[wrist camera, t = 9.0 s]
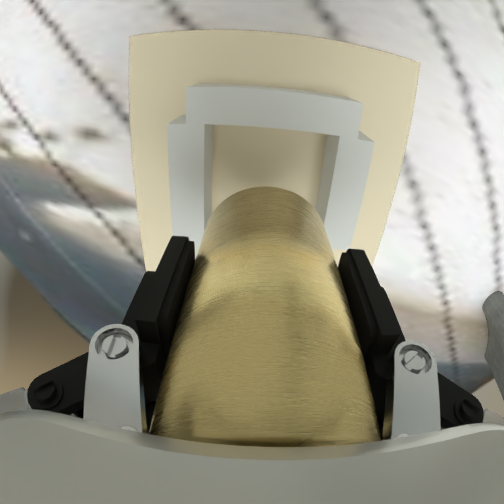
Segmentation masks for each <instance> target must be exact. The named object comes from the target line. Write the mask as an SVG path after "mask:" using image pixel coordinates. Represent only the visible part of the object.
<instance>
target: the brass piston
mask: <svg viewBox="0 0 504 504" xmlns="http://www.w3.org/2000/svg"><path fill="white" fill-rule="evenodd" d="M149 434H150V435H156V436H161V437H167V438H173V439H180V440H187V441H194V442H203V443H212V444H223V445H236V446H253V447H317V446H334V445H347V444H358V443H367V442H375V441H382V440H381V435H380V430H379V425H378V420H377V415H376V410H375V406H374V401H373V396H372V392H371V388H370V383H369V379H368V375H367V371H366V366H365V362H364V358H363V354H362V351H361V347H360V343H359V339H358V335H357V332H356V328H355V324H354V321H353V317H352V314H351V310H350V307H349V303H348V300H347V296H346V293H345V290H344V286H343V283H342V280H341V276H340V273H339V270H338V267H337V264H336V260H335V257H334V254H333V251H332V248H331V245H330V242H329V239H328V236H327V233H326V230H325V227H324V224H323V222H322V219H321V217H320V215H319V214H318V212H317V211H316V209H315V208H314V207H313V206H312V205H311V204H310V203H309V202H308V201H307V200H305V199H304V198H303V197H301V196H299V195H298V194H296V193H294V192H291V191H289V190H286V189H282V188H278V187H269V186H261V187H253V188H248V189H244V190H242V191H239V192H237V193H235V194H233V195H231V196H229V197H228V198H226V199H225V200H224V201H222V202H221V203H220V204H219V205H218V206H217V207H216V209H215V210H214V211H213V213H212V214H211V216H210V218H209V220H208V223H207V225H206V228H205V231H204V235H203V238H202V241H201V244H200V247H199V250H198V253H197V257H196V260H195V263H194V266H193V270H192V273H191V276H190V279H189V283H188V286H187V289H186V293H185V296H184V300H183V303H182V307H181V310H180V313H179V317H178V321H177V324H176V328H175V331H174V335H173V339H172V342H171V346H170V350H169V353H168V357H167V361H166V365H165V369H164V372H163V376H162V380H161V384H160V388H159V392H158V396H157V400H156V405H155V409H154V413H153V417H152V422H151V426H150V430H149Z"/></svg>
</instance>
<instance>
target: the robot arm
mask: <svg viewBox="0 0 504 504" xmlns="http://www.w3.org/2000/svg"><path fill="white" fill-rule="evenodd" d="M194 263H195V244H194V241H189V237H187V236H172V237H171V239H170V241H169V243H168V245H167V247H166V249H165V251H164V254H163V256H162V258H161V260H160V262H159V265H158V267H157V269H156V271H147V272H146V273H145V274H144V276H143V279H142V281H141V283H140V285H139V287H138V289H137V291H136V293H135V296H134V298H133V300H132V302H131V304H130V307H129V309H128V311H127V313H126V316H125V318H124V320H123V322H122V324H113V325H108V326H106V327H103V328H101V329H100V330H99V331H97V332H96V333H95V335H94V336H93V337H92V339H91V342H90V348H89V352H87V353H85V354H83V355H81V356H79V357H77V358H75V359H73V360H71V361H69V362H67V363H65V364H62V365H60V366H58V367H56V368H54V369H52V370H50V371H48V372H46V373H44V374H41V375H40V376H38V377H37V378H35V379H34V380H33V381H32V383H31V384H30V386H29V388H28V389H27V390H25V389H24V388H23V387H21V388H19V389H16V390H13V391H10V392H7V393H4V394H1V395H0V504H504V417H502V416H500V415H498V414H496V413H494V412H492V411H490V410H488V409H485V410H484V411H483V408H482V406H481V403H480V402H479V400H478V399H476V397H474V396H473V395H472V394H470V393H469V392H467V391H465V390H464V389H462V388H461V387H459V386H458V385H456V384H455V383H453V382H452V381H450V380H449V379H447V378H446V377H444V376H442V375H441V374H439V373H438V372H437V365H436V360H435V356H434V355H433V353H432V351H431V350H430V349H429V348H428V347H427V346H425V345H423V344H422V343H419V342H416V341H405V338H404V335H403V333H402V330H401V328H400V325H399V323H398V320H397V318H396V315H395V313H394V310H393V308H392V306H391V303H390V301H389V298H388V296H387V294H386V291H385V290H384V288H383V287H381V286H380V284H379V282H378V279H377V277H376V275H375V273H374V270H373V268H372V266H371V264H370V262H369V259H368V257H367V255H366V253H365V251H364V250H361V249H348V250H347V251H346V252H342V254H341V257H340V260H339V264H338V270H339V273H340V276H341V280H342V283H343V286H344V290H345V293H346V296H347V300H348V303H349V307H350V310H351V314H352V317H353V321H354V324H355V328H356V332H357V335H358V339H359V343H360V347H361V351H362V354H363V358H364V362H365V366H366V371H367V375H368V379H369V383H370V388H371V392H372V396H373V401H374V406H375V410H376V415H377V420H378V425H379V430H380V435H381V440H382V441H375V442H367V443H358V444H347V445H334V446H317V447H253V446H236V445H223V444H212V443H203V442H194V441H187V440H180V439H173V438H167V437H161V436H156V435H150V434H149V430H150V426H151V422H152V417H153V413H154V409H155V405H156V400H157V396H158V392H159V388H160V384H161V380H162V376H163V372H164V369H165V365H166V361H167V357H168V353H169V350H170V346H171V342H172V339H173V335H174V331H175V328H176V324H177V321H178V317H179V313H180V310H181V307H182V303H183V300H184V296H185V293H186V289H187V286H188V283H189V279H190V276H191V273H192V270H193V266H194Z"/></svg>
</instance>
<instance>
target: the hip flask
mask: <svg viewBox="0 0 504 504" xmlns="http://www.w3.org/2000/svg"><path fill="white" fill-rule="evenodd" d="M483 311H484V313H485V316H486V320H487V324H488V344H487V349H486V353H485V358H486V360H487V362H488V365H489V367H490V369H491V371H492V373H493V376H494V378H495V380H496V382H497V385H498V387H499V389H500V392H501V395H502V397H503V400H504V295H503V293H502V292H500V291H498V292H495V293H493V294H491V295H490V296H489V297H488V298H487V299H486V301H485V302H484V304H483Z"/></svg>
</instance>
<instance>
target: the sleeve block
mask: <svg viewBox="0 0 504 504" xmlns="http://www.w3.org/2000/svg"><path fill="white" fill-rule="evenodd" d="M419 68H420V63H419V62H416V61H413V60H410V59H407V58H404V57H401V56H397V55H394V54H390V53H387V52H383V51H380V50H376V49H372V48H368V47H364V46H359V45H355V44H350V43H346V42H341V41H335V40H330V39H324V38H318V37H312V36H305V35H297V34H288V33H279V32H267V31H251V30H187V31H171V32H160V33H150V34H142V35H134V36H130V46H129V109H130V132H131V149H132V162H133V174H134V184H135V194H136V203H137V211H138V219H139V227H140V234H141V241H142V247H143V254H144V260H145V266H146V272H147V271H156V269H157V267H158V265H159V262H160V260H161V258H162V256H163V254H164V251H165V249H166V247H167V245H168V243H169V241H170V239H171V237H172V236H187V237H189V241H194V244H195V260H196V257H197V253H198V250H199V247H200V244H201V241H202V238H203V235H204V231H205V228H206V225H207V223H208V220H209V218H210V216H211V214H212V213H213V211H214V210H215V209H216V207H217V206H218V205H219V204H220V203H221V202H222V201H224V200H225V199H226V198H228V197H229V196H231V195H233V194H235V193H237V192H239V191H242V190H244V189H248V188H253V187H261V186H269V187H278V188H282V189H286V190H289V191H291V192H294V193H296V194H298V195H299V196H301V197H303V198H304V199H305V200H307V201H308V202H309V203H310V204H311V205H312V206H313V207H314V208H315V209H316V211H317V212H318V214H319V215H320V217H321V219H322V222H323V224H324V227H325V230H326V233H327V236H328V239H329V242H330V245H331V248H332V251H333V254H334V257H335V260H336V264H337V267H338V264H339V260H340V257H341V254H342V252H346V251H347V250H348V249H361V250H364V251H365V253H366V255H367V257H368V259H369V262H370V264H371V266H372V265H373V262H374V259H375V256H376V253H377V250H378V247H379V244H380V241H381V238H382V235H383V232H384V228H385V225H386V222H387V218H388V215H389V211H390V208H391V204H392V201H393V197H394V193H395V190H396V186H397V182H398V178H399V174H400V170H401V166H402V162H403V157H404V153H405V149H406V144H407V139H408V134H409V129H410V124H411V119H412V114H413V108H414V102H415V96H416V90H417V83H418V76H419Z"/></svg>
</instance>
